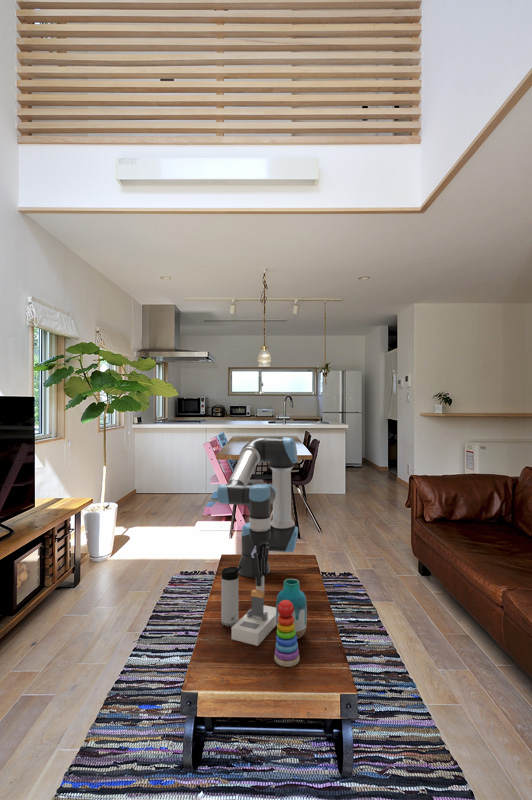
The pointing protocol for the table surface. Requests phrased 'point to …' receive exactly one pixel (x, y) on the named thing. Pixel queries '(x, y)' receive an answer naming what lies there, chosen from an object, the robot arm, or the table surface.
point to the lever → (257, 603)
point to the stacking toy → (286, 636)
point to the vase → (294, 605)
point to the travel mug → (229, 596)
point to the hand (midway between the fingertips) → (260, 593)
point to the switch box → (254, 626)
